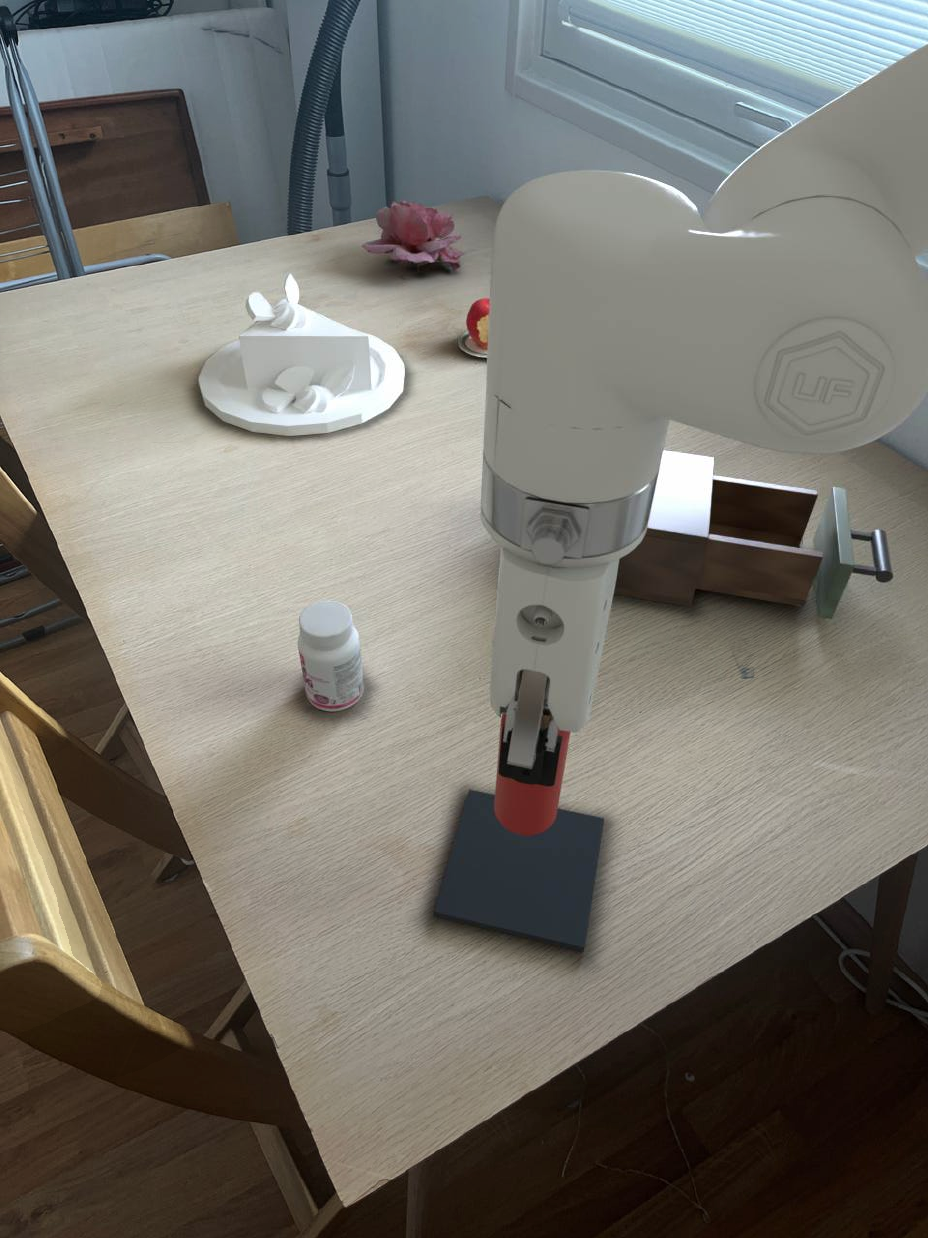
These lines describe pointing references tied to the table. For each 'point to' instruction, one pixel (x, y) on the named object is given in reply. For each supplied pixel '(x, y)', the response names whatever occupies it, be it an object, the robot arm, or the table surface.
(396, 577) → the table surface
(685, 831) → the table surface
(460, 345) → the apple
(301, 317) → the dish
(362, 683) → the pill bottle
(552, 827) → the coaster
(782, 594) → the drawer
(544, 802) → the red cylinder
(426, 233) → the flower
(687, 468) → the cabinet
